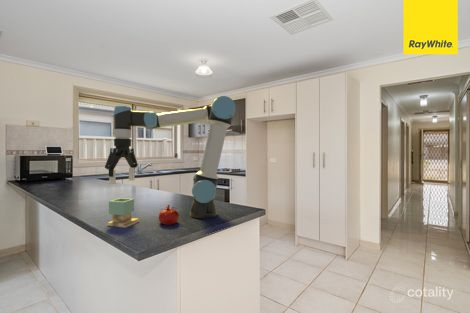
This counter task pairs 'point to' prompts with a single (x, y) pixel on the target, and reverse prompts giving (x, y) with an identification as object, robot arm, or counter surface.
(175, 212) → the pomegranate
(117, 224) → the plate
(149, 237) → the counter surface
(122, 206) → the cup block
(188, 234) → the counter surface
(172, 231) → the counter surface
